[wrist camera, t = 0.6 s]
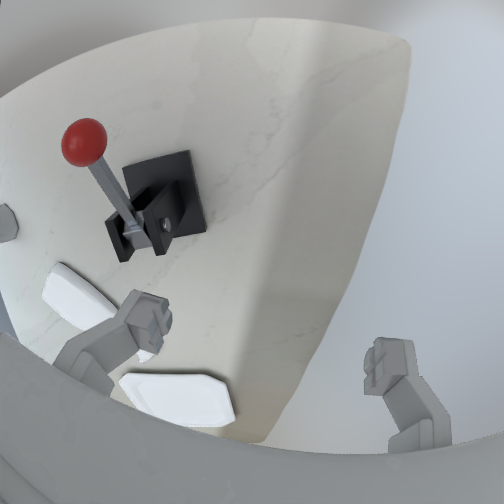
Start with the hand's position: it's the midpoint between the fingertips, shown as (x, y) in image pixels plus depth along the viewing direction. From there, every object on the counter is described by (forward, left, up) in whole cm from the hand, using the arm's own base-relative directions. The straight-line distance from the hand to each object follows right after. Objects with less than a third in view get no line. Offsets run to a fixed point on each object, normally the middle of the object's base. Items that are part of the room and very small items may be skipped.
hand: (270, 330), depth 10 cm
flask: (-3, -44, -27) cm, 52 cm away
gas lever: (-5, -11, -15) cm, 19 cm away
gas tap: (+1, -11, -27) cm, 29 cm away
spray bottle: (+19, -30, -27) cm, 45 cm away
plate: (+47, -24, -27) cm, 59 cm away
